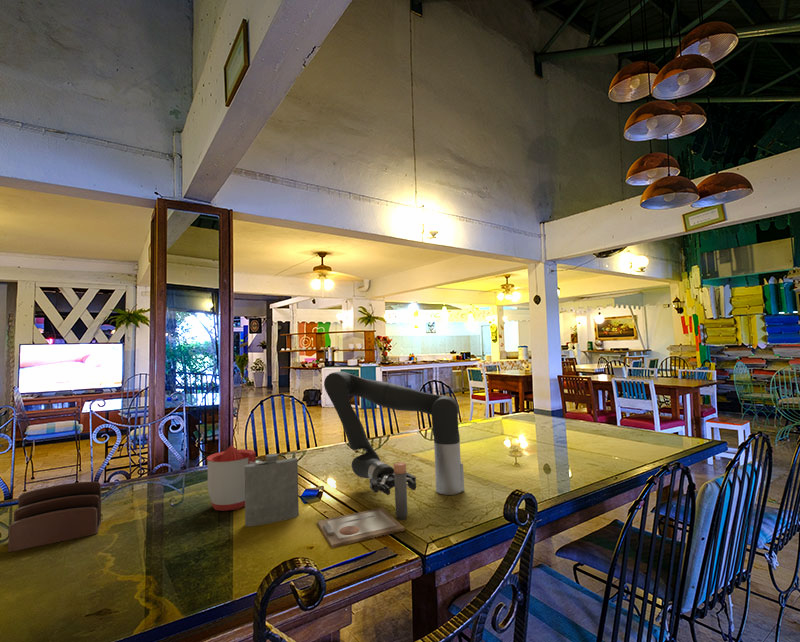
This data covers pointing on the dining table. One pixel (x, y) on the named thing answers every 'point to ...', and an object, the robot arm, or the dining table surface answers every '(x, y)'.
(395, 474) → the marker
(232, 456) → the citrus juicer
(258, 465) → the hip flask
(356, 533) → the clipboard
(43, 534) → the letter holder
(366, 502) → the dining table surface
